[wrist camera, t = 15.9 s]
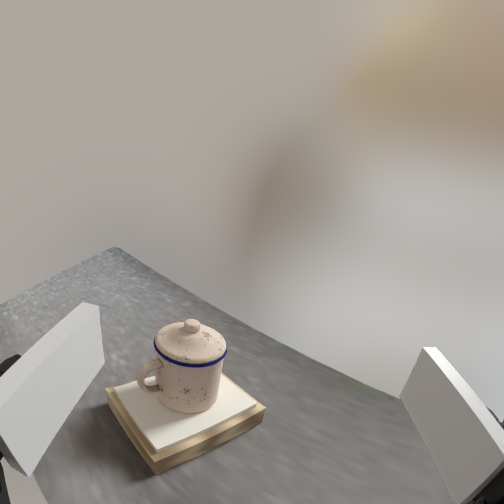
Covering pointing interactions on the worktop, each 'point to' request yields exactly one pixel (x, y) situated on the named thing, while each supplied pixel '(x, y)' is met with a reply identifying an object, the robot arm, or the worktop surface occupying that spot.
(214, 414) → the oak tea stand
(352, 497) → the worktop surface
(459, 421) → the robot arm
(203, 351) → the teacup with lid
